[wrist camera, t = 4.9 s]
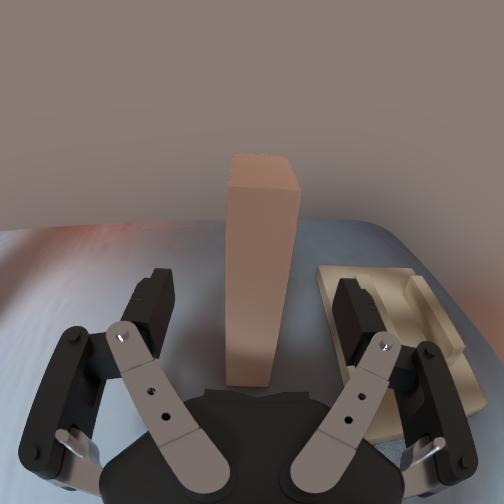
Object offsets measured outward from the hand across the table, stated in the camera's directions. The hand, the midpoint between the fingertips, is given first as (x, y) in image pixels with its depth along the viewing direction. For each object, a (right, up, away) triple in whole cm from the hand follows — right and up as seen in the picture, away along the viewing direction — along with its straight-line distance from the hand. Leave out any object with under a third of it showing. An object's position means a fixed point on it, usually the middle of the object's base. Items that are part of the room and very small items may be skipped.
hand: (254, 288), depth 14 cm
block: (0, -5, +4) cm, 7 cm away
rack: (+11, -5, +6) cm, 13 cm away
